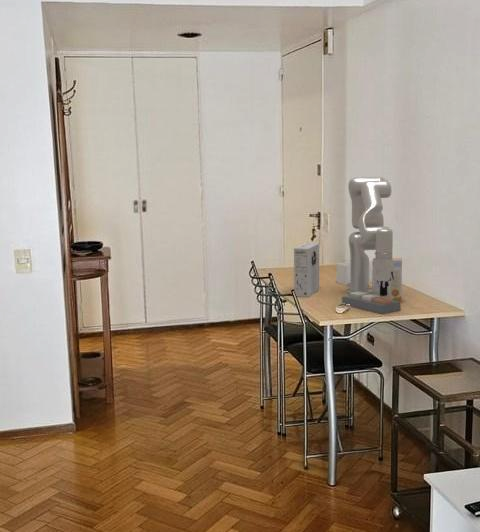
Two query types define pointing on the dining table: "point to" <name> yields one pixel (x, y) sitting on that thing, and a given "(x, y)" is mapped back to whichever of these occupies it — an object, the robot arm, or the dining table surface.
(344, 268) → the storage container
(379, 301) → the right key
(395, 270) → the cracker box
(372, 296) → the middle key
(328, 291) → the dining table surface
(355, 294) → the left key
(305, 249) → the cereal box
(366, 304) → the key panel
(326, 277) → the dining table surface
